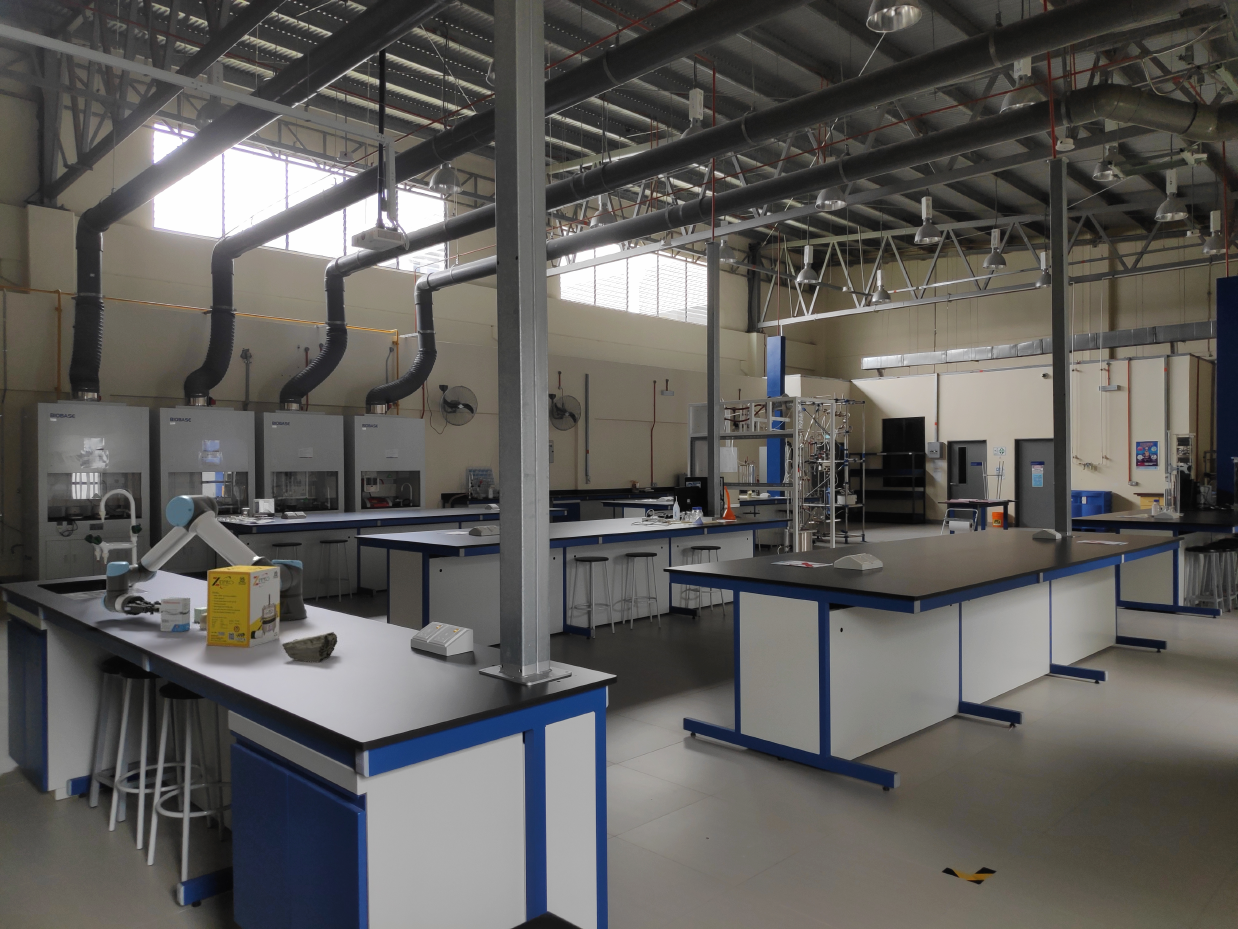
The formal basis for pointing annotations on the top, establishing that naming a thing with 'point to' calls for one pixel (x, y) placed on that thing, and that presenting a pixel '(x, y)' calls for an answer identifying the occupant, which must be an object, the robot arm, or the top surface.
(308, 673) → the top surface
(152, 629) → the top surface
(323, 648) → the concrete fragment
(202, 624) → the birch cube
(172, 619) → the ink box
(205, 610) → the sage cube
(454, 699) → the top surface
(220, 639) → the packaging box
